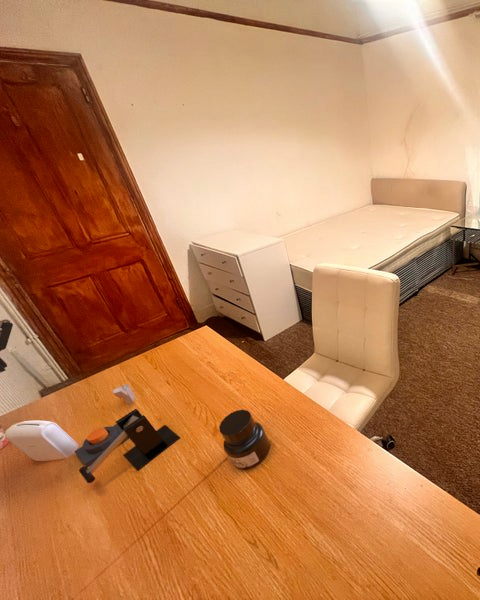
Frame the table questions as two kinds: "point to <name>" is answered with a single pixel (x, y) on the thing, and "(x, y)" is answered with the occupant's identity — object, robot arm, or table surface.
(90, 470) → the switch lever
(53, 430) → the photo printer
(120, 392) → the pale grey angular bracket
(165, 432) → the bracket
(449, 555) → the table surface
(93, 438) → the button
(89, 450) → the button box
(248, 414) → the ink bottle
